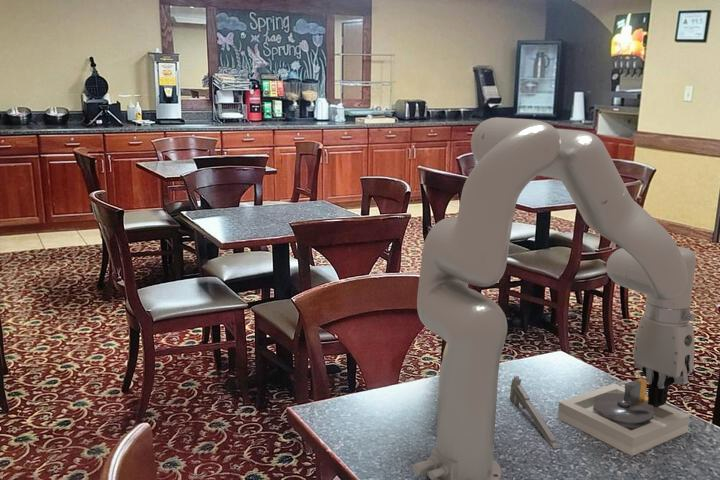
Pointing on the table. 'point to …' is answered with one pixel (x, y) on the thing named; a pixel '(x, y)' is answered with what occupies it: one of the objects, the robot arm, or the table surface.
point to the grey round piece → (626, 406)
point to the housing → (631, 442)
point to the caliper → (530, 410)
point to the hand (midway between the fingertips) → (656, 404)
